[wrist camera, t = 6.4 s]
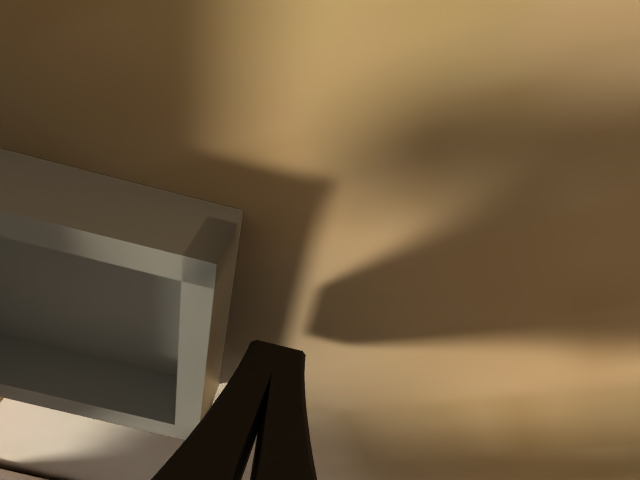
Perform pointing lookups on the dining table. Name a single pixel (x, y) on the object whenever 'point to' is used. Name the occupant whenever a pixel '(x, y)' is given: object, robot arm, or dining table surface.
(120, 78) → the dining table surface
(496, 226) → the dining table surface
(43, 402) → the tray
